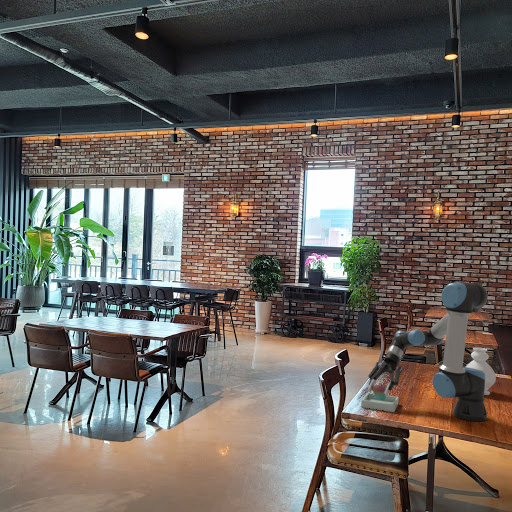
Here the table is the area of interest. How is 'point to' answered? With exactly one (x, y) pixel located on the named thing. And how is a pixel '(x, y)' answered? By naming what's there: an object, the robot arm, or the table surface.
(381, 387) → the cupcake
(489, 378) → the decorative vase
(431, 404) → the table surface
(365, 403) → the tray
